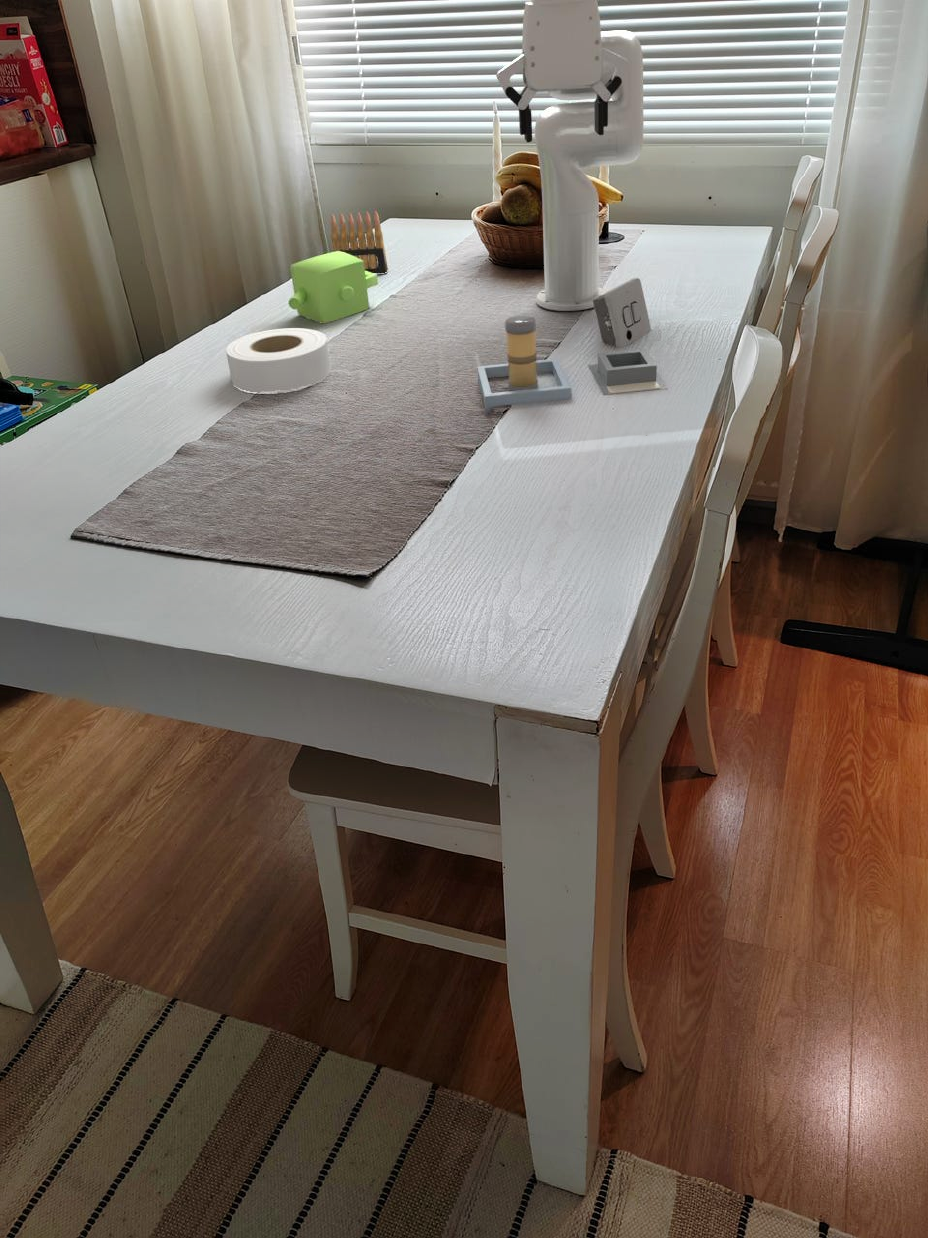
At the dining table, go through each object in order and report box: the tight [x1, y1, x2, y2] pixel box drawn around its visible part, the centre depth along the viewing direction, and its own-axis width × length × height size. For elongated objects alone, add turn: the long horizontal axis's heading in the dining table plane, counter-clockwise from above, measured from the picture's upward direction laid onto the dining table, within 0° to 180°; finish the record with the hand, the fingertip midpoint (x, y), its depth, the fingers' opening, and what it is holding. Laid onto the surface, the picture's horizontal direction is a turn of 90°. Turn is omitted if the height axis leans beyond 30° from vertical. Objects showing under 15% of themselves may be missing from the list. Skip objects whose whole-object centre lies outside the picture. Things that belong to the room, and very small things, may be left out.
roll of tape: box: [225, 327, 332, 392], centre depth 154 cm, size 16×16×6 cm
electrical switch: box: [593, 277, 652, 349], centre depth 154 cm, size 9×5×9 cm, turn 141°
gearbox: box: [288, 251, 379, 324], centre depth 178 cm, size 18×10×10 cm, turn 130°
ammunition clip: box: [330, 210, 389, 273], centre depth 199 cm, size 11×2×12 cm, turn 85°
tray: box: [476, 357, 572, 414], centre depth 141 cm, size 12×12×2 cm
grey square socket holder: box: [587, 348, 668, 396], centre depth 141 cm, size 12×9×4 cm
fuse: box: [504, 315, 539, 391], centre depth 139 cm, size 4×4×10 cm
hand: (563, 136), depth 133 cm, fingers open, 9 cm apart
